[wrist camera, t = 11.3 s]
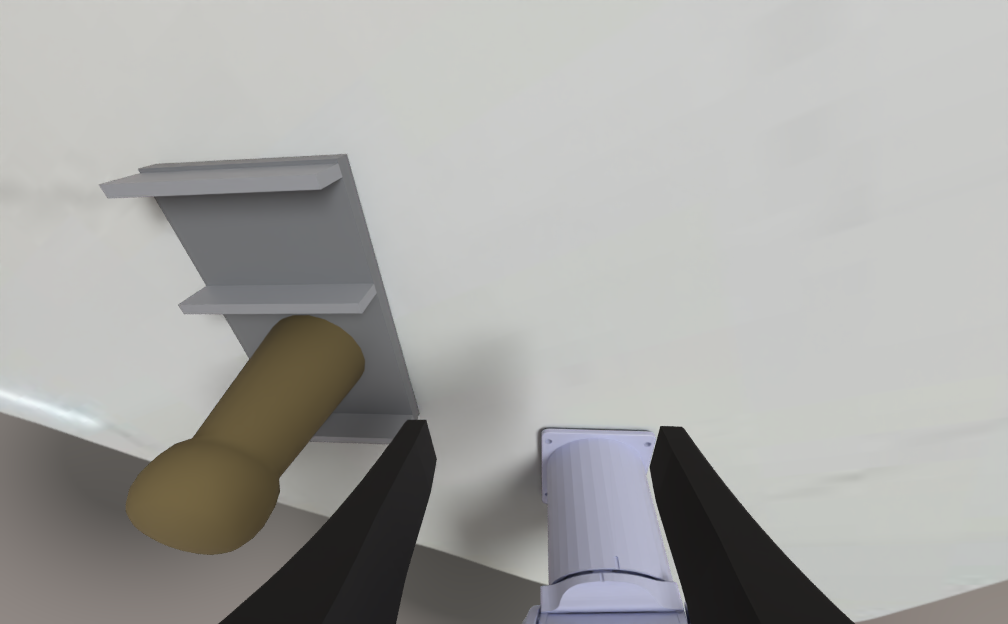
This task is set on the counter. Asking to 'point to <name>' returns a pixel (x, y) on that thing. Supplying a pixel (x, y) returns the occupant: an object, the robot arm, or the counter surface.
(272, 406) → the cork
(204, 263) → the rack
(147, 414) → the counter surface
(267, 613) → the robot arm
